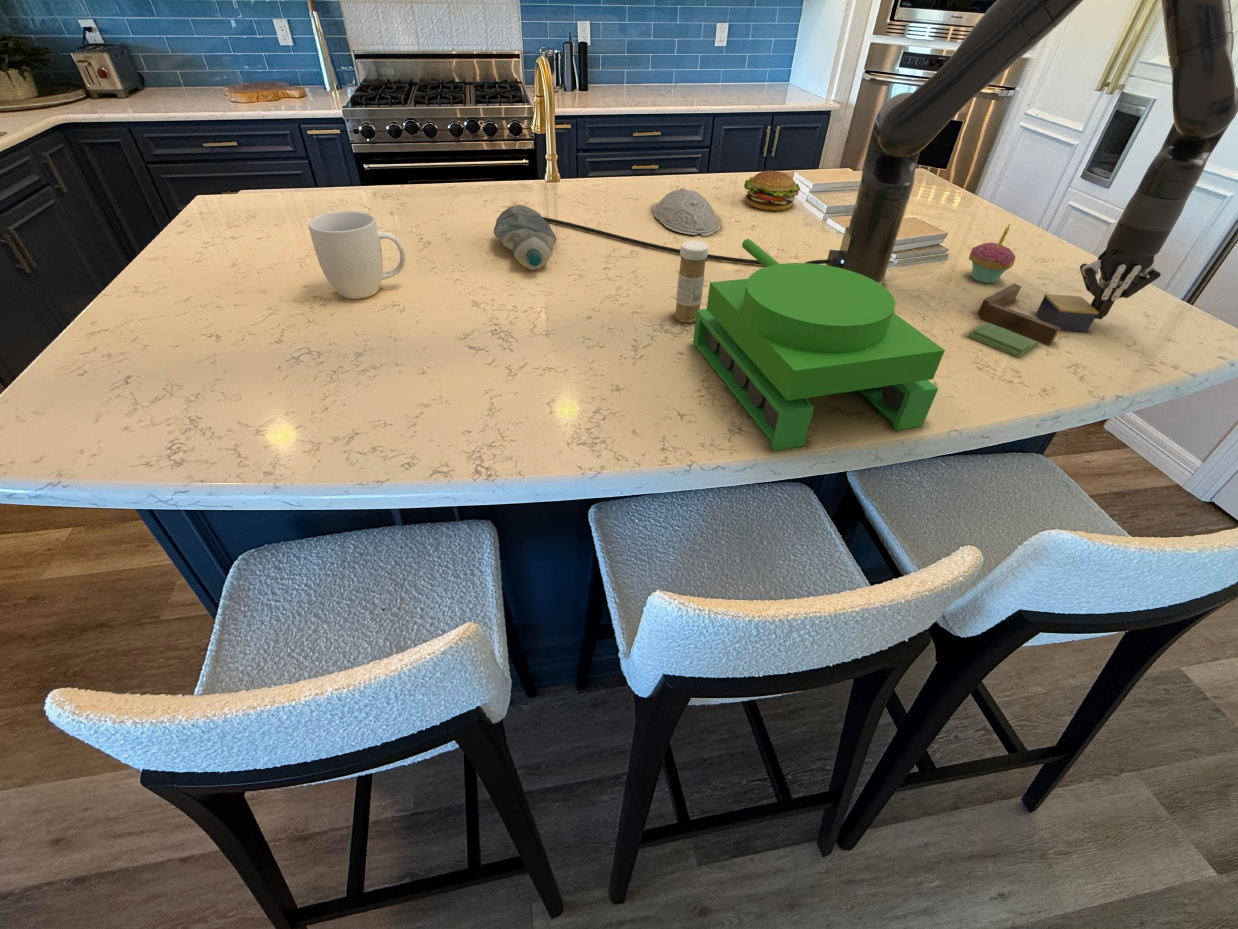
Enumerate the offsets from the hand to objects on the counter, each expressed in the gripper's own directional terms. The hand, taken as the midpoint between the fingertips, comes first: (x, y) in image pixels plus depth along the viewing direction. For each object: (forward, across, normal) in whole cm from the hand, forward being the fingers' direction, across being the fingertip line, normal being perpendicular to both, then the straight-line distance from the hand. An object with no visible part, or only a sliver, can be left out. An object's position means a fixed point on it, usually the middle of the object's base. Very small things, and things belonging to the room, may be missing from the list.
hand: (1094, 316), depth 116 cm
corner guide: (+1, +15, 0) cm, 15 cm away
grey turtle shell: (+1, +76, -44) cm, 88 cm away
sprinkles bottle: (+1, +75, +10) cm, 76 cm away
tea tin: (+2, +5, 0) cm, 6 cm away
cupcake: (+2, +13, -19) cm, 23 cm away
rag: (+1, +20, +9) cm, 22 cm away
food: (+1, +54, -60) cm, 81 cm away
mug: (0, +135, +9) cm, 135 cm away
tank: (+1, +58, +26) cm, 64 cm away
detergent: (0, +109, -14) cm, 110 cm away
